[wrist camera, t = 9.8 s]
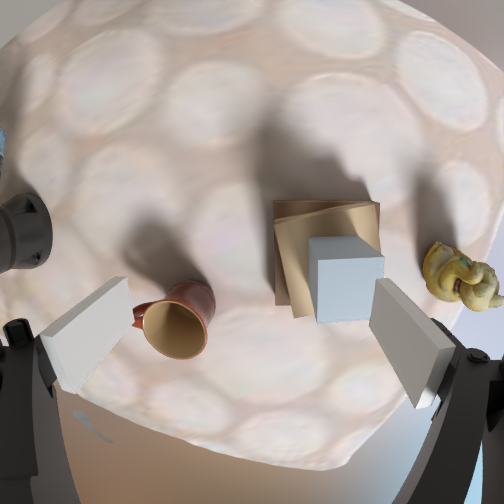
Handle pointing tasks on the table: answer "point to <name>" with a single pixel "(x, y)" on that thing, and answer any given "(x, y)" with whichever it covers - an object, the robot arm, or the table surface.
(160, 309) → the mug
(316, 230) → the slab upper
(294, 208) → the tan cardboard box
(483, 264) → the decorative figurine
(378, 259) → the block
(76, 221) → the table surface
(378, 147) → the table surface
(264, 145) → the table surface
